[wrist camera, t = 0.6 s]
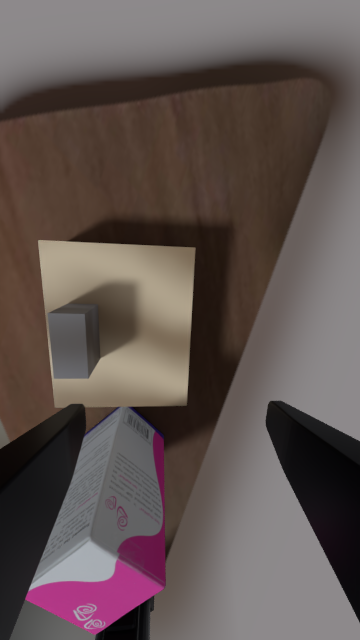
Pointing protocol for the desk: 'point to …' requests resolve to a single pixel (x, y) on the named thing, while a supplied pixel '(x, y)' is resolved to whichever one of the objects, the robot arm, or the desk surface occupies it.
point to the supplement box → (107, 527)
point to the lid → (118, 322)
